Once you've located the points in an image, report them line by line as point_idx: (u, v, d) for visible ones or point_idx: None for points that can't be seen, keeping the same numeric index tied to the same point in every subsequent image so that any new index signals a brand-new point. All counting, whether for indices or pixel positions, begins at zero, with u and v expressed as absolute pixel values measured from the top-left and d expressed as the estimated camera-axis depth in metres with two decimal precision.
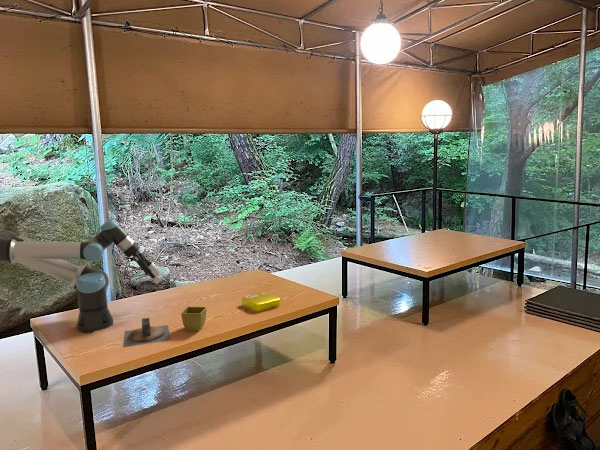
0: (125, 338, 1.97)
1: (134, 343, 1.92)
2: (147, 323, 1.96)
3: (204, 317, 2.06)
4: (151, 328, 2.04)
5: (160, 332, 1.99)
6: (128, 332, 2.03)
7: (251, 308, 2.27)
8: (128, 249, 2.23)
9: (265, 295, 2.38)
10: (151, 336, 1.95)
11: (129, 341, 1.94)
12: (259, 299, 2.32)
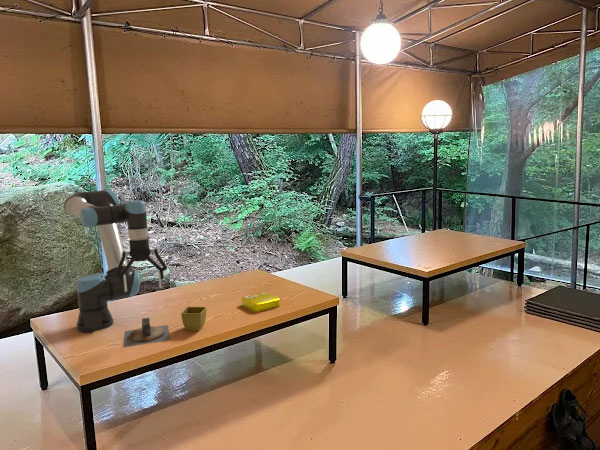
0: (125, 338, 1.97)
1: (134, 343, 1.92)
2: (147, 323, 1.96)
3: (204, 317, 2.06)
4: (151, 328, 2.04)
5: (160, 332, 1.99)
6: (128, 332, 2.03)
7: (251, 308, 2.27)
8: (129, 240, 1.93)
9: (265, 295, 2.37)
10: (151, 336, 1.95)
11: (129, 341, 1.94)
12: (259, 299, 2.32)
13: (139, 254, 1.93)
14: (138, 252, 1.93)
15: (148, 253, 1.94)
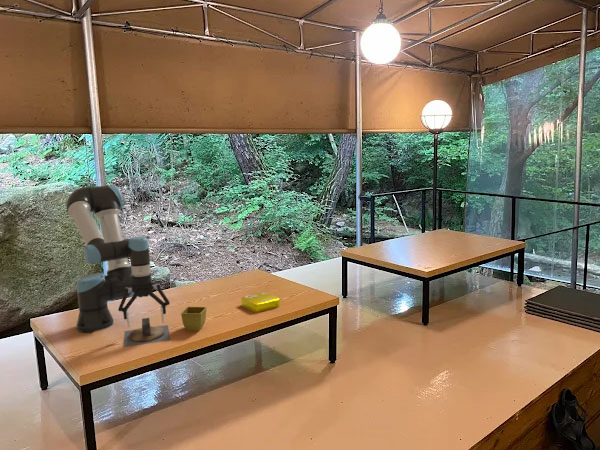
0: (125, 338, 1.97)
1: (134, 343, 1.92)
2: (147, 323, 1.96)
3: (204, 317, 2.06)
4: (151, 328, 2.04)
5: (160, 332, 1.99)
6: (128, 332, 2.03)
7: (250, 308, 2.27)
8: None
9: (265, 295, 2.37)
10: (151, 336, 1.95)
11: (129, 341, 1.94)
12: (258, 299, 2.31)
13: (142, 290, 1.95)
14: (141, 288, 1.95)
15: (151, 289, 1.96)
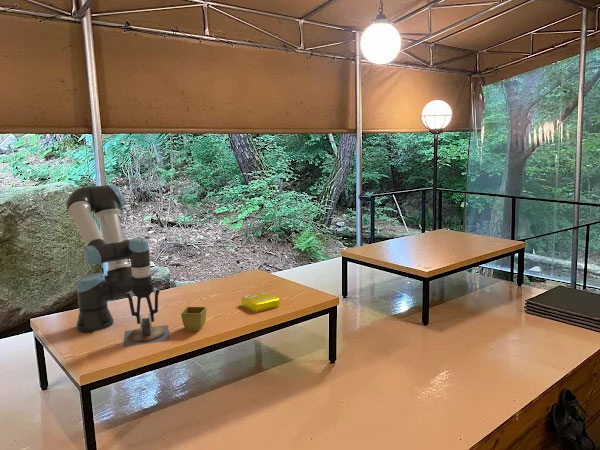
0: (125, 338, 1.97)
1: (134, 343, 1.92)
2: (147, 323, 1.96)
3: (204, 317, 2.06)
4: None
5: (160, 332, 1.99)
6: (128, 332, 2.03)
7: (250, 308, 2.27)
8: (132, 277, 1.95)
9: (265, 295, 2.37)
10: (151, 336, 1.95)
11: (129, 341, 1.94)
12: (258, 299, 2.31)
13: (141, 290, 1.95)
14: (141, 289, 1.95)
15: (151, 290, 1.96)
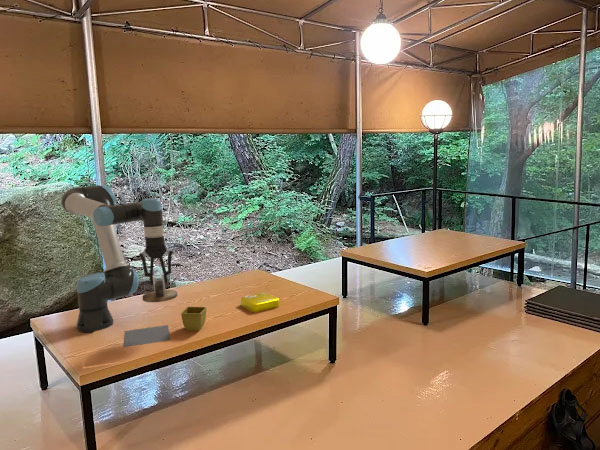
0: (125, 338, 1.97)
1: (134, 343, 1.92)
2: (160, 284, 1.95)
3: (204, 317, 2.06)
4: None
5: (173, 294, 1.98)
6: (128, 332, 2.03)
7: (249, 308, 2.27)
8: (145, 238, 1.94)
9: (264, 295, 2.37)
10: (164, 297, 1.94)
11: (129, 341, 1.94)
12: (258, 299, 2.31)
13: (154, 250, 1.94)
14: (154, 249, 1.94)
15: (164, 250, 1.95)
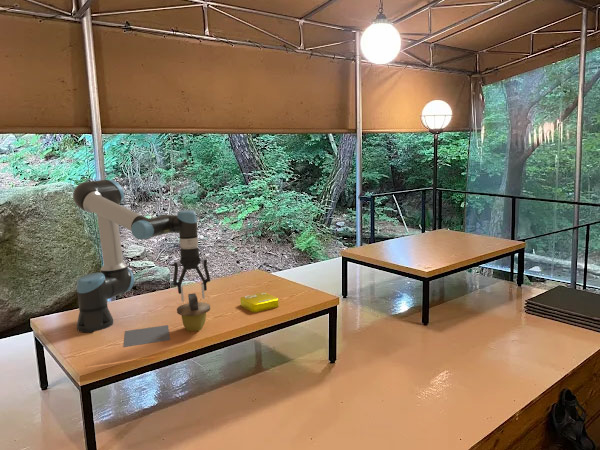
0: (125, 338, 1.97)
1: (134, 343, 1.92)
2: (195, 298, 2.01)
3: (204, 317, 2.06)
4: None
5: (207, 307, 2.04)
6: (128, 332, 2.03)
7: (249, 308, 2.27)
8: (180, 249, 1.99)
9: (264, 295, 2.37)
10: (199, 310, 2.00)
11: (129, 341, 1.94)
12: (257, 299, 2.31)
13: (189, 262, 2.00)
14: (189, 260, 1.99)
15: (198, 261, 2.01)
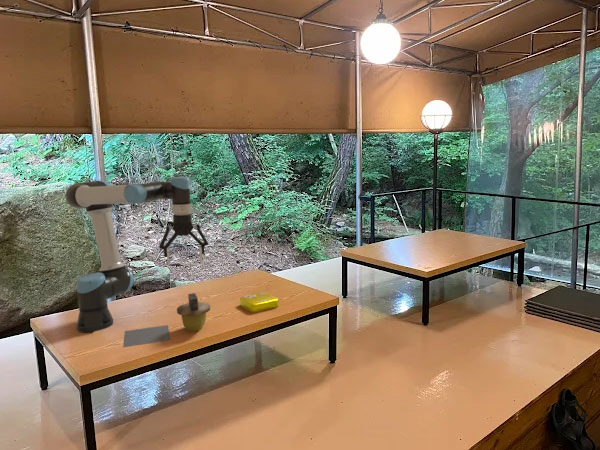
0: (125, 338, 1.97)
1: (134, 343, 1.92)
2: (195, 298, 2.01)
3: (204, 317, 2.06)
4: None
5: (207, 307, 2.04)
6: (128, 332, 2.03)
7: (248, 308, 2.27)
8: (173, 215, 1.99)
9: (264, 295, 2.37)
10: (199, 310, 2.00)
11: (129, 341, 1.94)
12: (257, 299, 2.31)
13: (182, 229, 2.00)
14: (181, 227, 1.99)
15: (191, 228, 2.01)
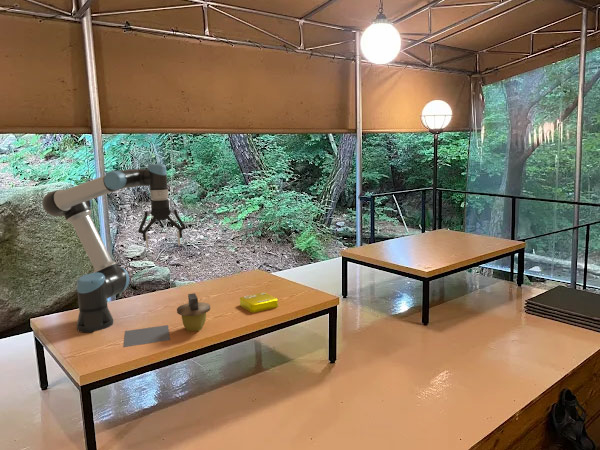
0: (125, 338, 1.97)
1: (134, 343, 1.92)
2: (195, 298, 2.01)
3: (204, 317, 2.06)
4: None
5: (207, 307, 2.04)
6: (128, 332, 2.03)
7: (248, 308, 2.27)
8: None
9: (264, 295, 2.37)
10: (199, 310, 2.00)
11: (129, 341, 1.94)
12: (257, 299, 2.31)
13: (160, 214, 2.09)
14: (159, 212, 2.08)
15: (168, 213, 2.10)
